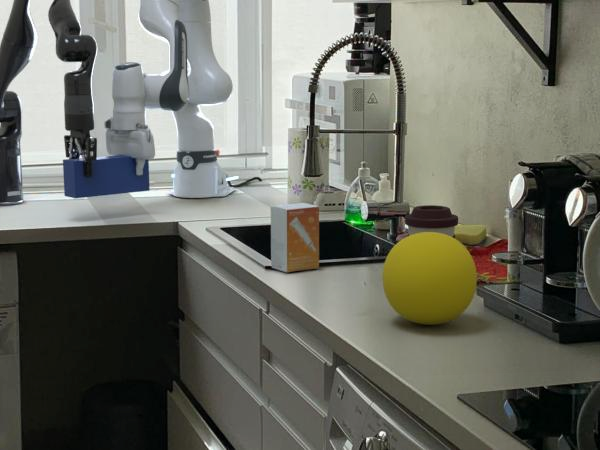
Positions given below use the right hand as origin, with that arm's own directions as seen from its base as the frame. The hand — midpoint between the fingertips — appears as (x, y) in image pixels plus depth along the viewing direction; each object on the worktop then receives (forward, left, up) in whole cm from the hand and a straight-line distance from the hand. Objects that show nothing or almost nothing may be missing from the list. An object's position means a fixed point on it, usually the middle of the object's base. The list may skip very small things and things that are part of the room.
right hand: (131, 173), depth 286 cm
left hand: (+13, -8, +1) cm, 15 cm away
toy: (+87, +104, -11) cm, 136 cm away
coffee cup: (+61, +98, -11) cm, 116 cm away
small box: (+53, +68, -11) cm, 87 cm away
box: (+6, -4, -5) cm, 9 cm away
